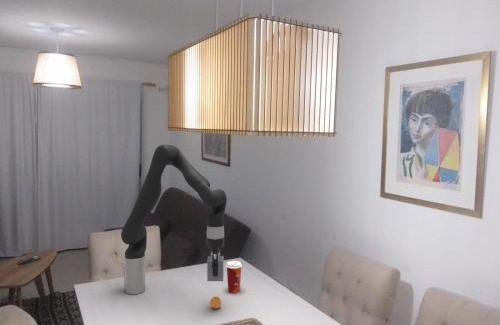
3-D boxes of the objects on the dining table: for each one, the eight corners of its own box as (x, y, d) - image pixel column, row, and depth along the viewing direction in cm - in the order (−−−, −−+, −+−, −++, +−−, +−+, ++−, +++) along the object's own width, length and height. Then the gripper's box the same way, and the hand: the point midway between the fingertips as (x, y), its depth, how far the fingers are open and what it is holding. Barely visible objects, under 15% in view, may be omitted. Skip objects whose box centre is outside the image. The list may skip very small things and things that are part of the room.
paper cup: (239, 295, 187) (240, 266, 186) (224, 293, 188) (224, 265, 187) (243, 288, 194) (243, 260, 193) (228, 287, 196) (228, 259, 195)
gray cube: (207, 281, 168) (207, 261, 167) (208, 275, 175) (208, 256, 174) (223, 281, 169) (223, 261, 168) (223, 275, 175) (223, 256, 175)
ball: (221, 310, 173) (209, 310, 173) (221, 299, 176) (210, 299, 176) (221, 305, 169) (209, 305, 169) (221, 294, 173) (209, 294, 173)
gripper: (207, 231, 177) (207, 267, 178) (205, 240, 163) (206, 279, 164) (224, 231, 178) (224, 267, 179) (224, 240, 163) (224, 279, 165)
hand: (215, 273), depth 172 cm, fingers closed on gray cube, 7 cm apart
